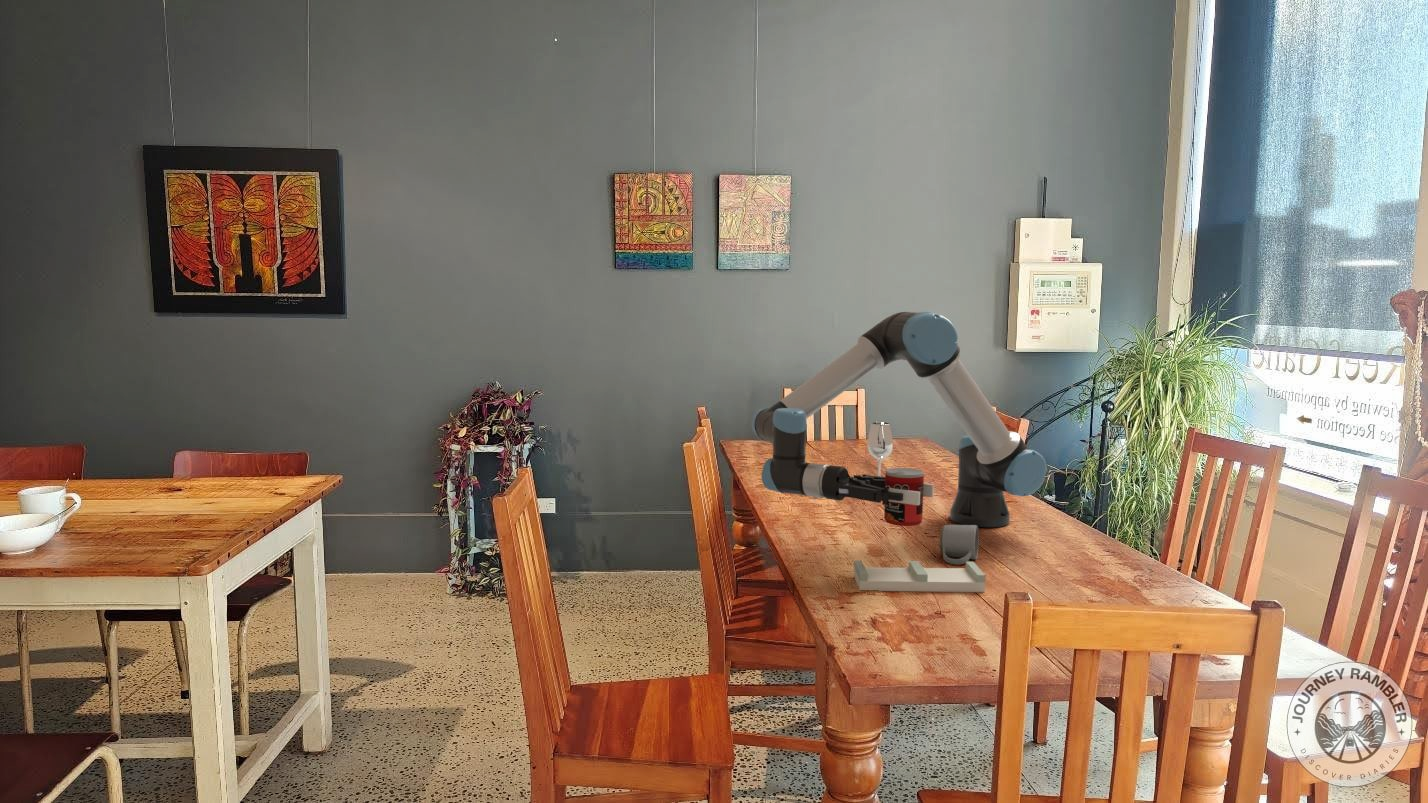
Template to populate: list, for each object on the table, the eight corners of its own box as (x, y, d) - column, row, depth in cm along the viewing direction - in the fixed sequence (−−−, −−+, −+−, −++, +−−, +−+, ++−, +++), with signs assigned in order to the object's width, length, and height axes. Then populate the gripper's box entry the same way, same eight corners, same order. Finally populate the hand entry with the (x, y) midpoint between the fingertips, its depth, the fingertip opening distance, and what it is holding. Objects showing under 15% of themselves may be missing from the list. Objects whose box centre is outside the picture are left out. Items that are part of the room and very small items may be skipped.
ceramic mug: (942, 550, 201) (943, 518, 200) (978, 554, 198) (979, 521, 197) (936, 564, 191) (937, 530, 190) (974, 568, 188) (975, 534, 187)
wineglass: (877, 482, 275) (878, 420, 272) (896, 486, 269) (898, 423, 266) (861, 485, 270) (862, 423, 267) (880, 490, 264) (882, 425, 261)
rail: (972, 577, 181) (973, 561, 181) (984, 592, 172) (985, 575, 172) (853, 576, 182) (854, 560, 182) (859, 590, 173) (860, 573, 173)
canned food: (877, 518, 185) (878, 468, 184) (909, 515, 188) (911, 466, 187) (896, 527, 178) (897, 475, 177) (929, 524, 181) (931, 473, 179)
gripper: (846, 489, 201) (941, 502, 189) (806, 507, 184) (908, 522, 171) (846, 458, 200) (942, 468, 188) (806, 473, 183) (909, 486, 171)
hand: (926, 494), depth 180 cm, fingers closed on canned food, 8 cm apart
